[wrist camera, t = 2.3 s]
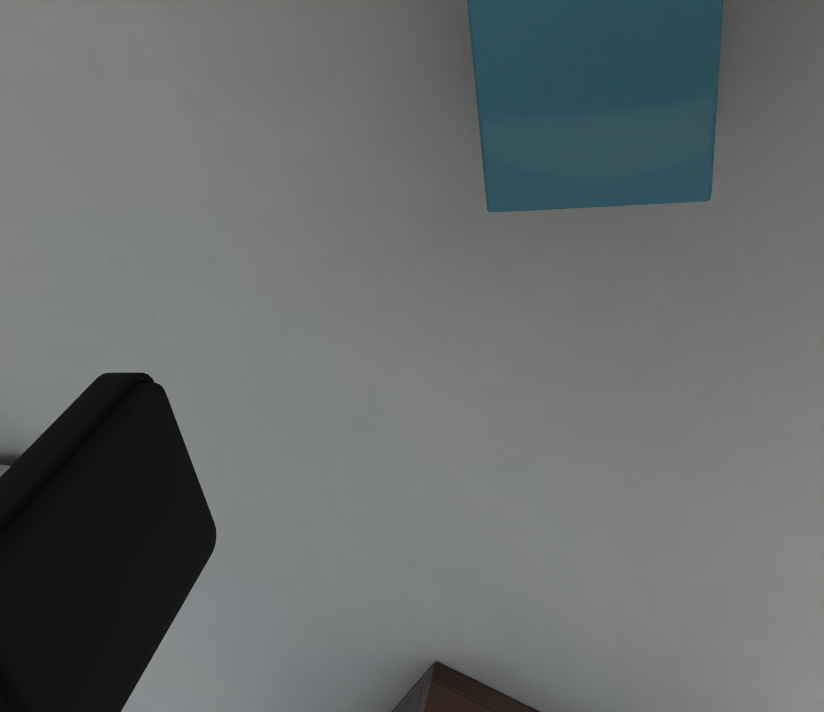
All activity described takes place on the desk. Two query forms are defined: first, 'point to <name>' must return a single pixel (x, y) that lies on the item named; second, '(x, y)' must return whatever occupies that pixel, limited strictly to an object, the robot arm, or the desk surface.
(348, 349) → the desk surface
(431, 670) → the chest
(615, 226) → the desk surface
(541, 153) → the block
